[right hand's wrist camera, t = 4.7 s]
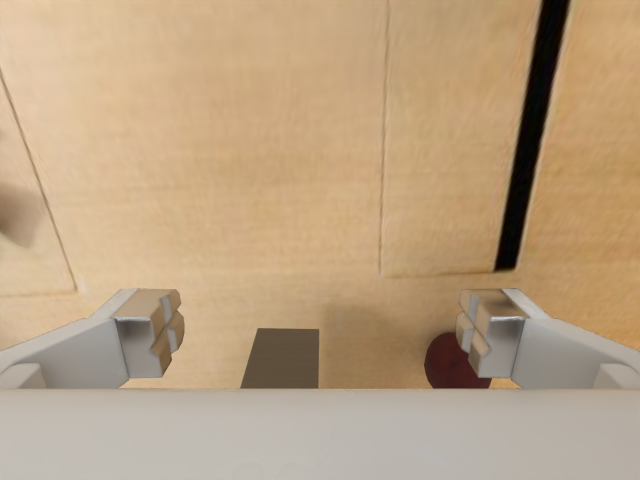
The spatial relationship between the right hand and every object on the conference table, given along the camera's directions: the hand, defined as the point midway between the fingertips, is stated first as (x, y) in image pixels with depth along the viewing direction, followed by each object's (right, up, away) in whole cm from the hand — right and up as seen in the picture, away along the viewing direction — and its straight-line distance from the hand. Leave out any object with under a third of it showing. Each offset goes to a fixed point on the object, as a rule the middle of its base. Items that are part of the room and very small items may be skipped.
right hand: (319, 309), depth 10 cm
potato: (+16, -11, +33) cm, 38 cm away
